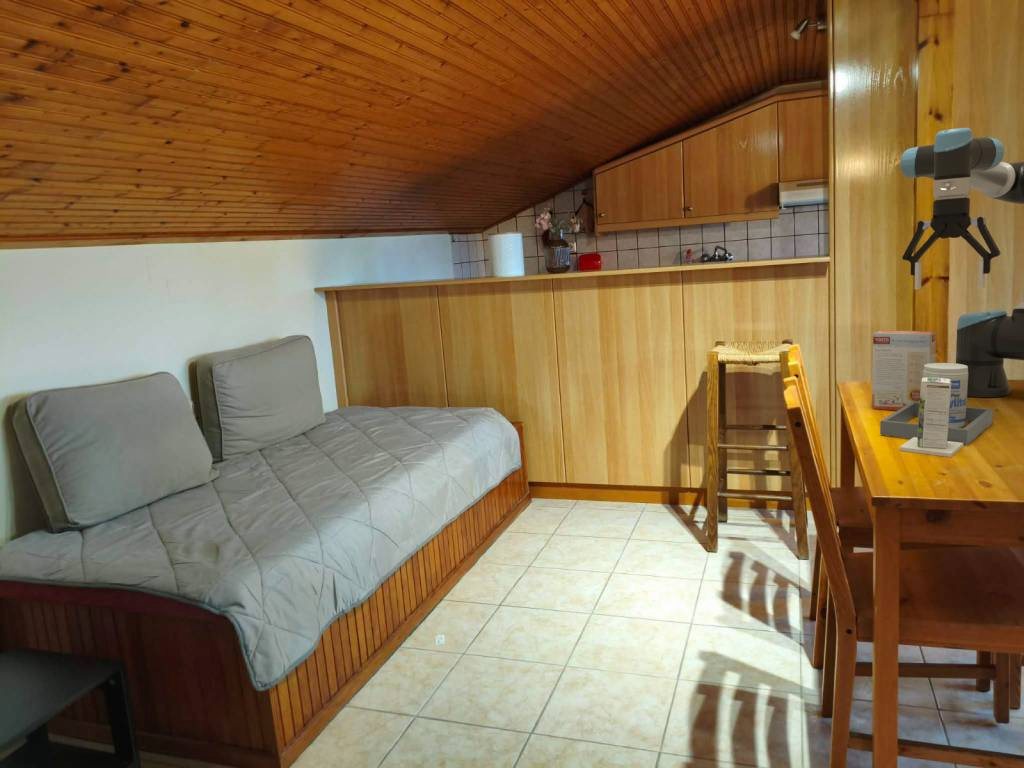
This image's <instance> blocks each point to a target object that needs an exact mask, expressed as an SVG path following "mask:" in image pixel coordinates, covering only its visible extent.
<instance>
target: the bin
mask: <svg viewBox="0 0 1024 768" xmlns="http://www.w3.org/2000/svg"><path fill="white" fill-rule="evenodd" d="M993 416H994V408H993V409H992V408H983V407H971V406H966V420H965V421H970V422H969V424H968V425H966V426H964V428H963V427H960V428H952V427H948V441H951V442H960V443H963V446H965V445H967V446H968V445H970V444H971V443H972V442H973V441H974V440H975V439H976V438H977V437H979V436H980V435H981V434H982V433H983V432H985V431H986V428H987V427H988V426H989V427H990V426H992V425H993V418H994V417H993ZM911 418H912V419H913V418H919V403H917V402H911V403H910V404H908V405H906V406H905V407H903V408H901V409H900V410H898V411H894V412H893V413H891V414H890V415H888V416H886V417H884V418H883V419H881V420H880V421H879V422H880V427H879V428H880V429H879V435H880V434H881V435H887V436H886V437H889V436H893V437H892V438H898V437H900V439H906V438H907V439H909V440H910V439H912V438H913V437H917V438H918V423H914V422H913V423H912V422H908V421H910V420H912V419H911ZM906 421H907V422H906ZM989 427H988V428H989ZM979 434H980V435H979ZM881 435H880V436H881ZM978 435H979V436H978ZM970 442H971V443H970Z"/></svg>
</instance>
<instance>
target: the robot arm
mask: <svg viewBox="0 0 1024 768" xmlns="http://www.w3.org/2000/svg"><path fill="white" fill-rule="evenodd" d="M1004 155H1005V148H1004V144H1003V143H1002V141H1000V140H999V139H997V138H993V137H989V136H984V137H973V131H972V129H971V128H969V127H959V128H958V127H956V128H950V129H945V130H940V131H938V132H937V133H936V134H935V139H934V144H930V145H929V144H928V145H918V146H915V147H911V148H908V149H906V150H905V151H904V152H903V153H902V155H901V158H900V163H899V167H900V170H901V171H900V172H901V173H902V175H903V176H904V177H906V178H908V179H911V178H912V179H913V178H915V179H918V178H927V179H932V180H933V189H932V190H933V194H932V196H933V198H934V199H935V200H934V201H933V202H932V220H931V221H926V220H919V221H918V222H917V226H916V231H915V233H914V235H913V236H912V238H911V240H910V242H909V244H908V245H907V247H906V249H905V251H904V254H903V255H902V257H901V258H902V260H903V261H908V262H909V263H910V273H909V274H910V275H911V276H914V290H920V289H922V267H923V266H922V261H919V260H920V259H921V258H922V256H924V254H926V252H927V251H928V250H929V249H930V248H932V247H931V246H933V245H934V243H935V242H936V241H937V240H939V238H940V239H943V240H944V239H948V238H951V239H956V238H960V237H961V238H962V239H963V240H965V242H967V244H969V245H970V246H971V247H972V249H973V250H974V251H975V252H976V253H977V254H978V255H979V256H980V257H981V258H982V259H980V260H979V262H978V263H979V264H978V285H977V286H978V287H977V288H978V290H980V289H981V290H982V289H984V288H985V286H986V285H985V284H986V282H985V281H986V275H988V274H990V273H991V269H992V267H991V263H992V259H994V258H996V257H999V256H1000V255H1001V251H1000V249H999V248H998V246H997V244H996V242H995V240H994V237H993V236H992V234H991V233H990V230H989V229H988V227H987V222H986V217H985V216H979V217H974V218H971V215H970V214H971V213H970V209H971V207H970V205H971V199H970V197H968V195H971V190H975V191H979V192H980V193H981V194H982V195H983V196H985V197H987V198H989V199H993V200H998V201H1002V202H1007V203H1010V204H1018V205H1024V161H1019V162H1018V161H1017V162H1009V163H1008V162H1005V161H1002V160H1003V159H1004ZM972 224H973V226H974V227H976V228H977V229H978V232H979V233H980V235H981V237H982V239H983V240H984V242H985V244H986V246H987V248H988V250H989V251H990V252H989V251H988V250H986V248H985V247H984V246H983V245H982V244H981V243H980V242H979V241H978V240H977V239H976V238H975V237H974V236H973V234H972V233H971V232H970V231H969V230H968V229H969V227H970V226H971V225H972ZM929 227H931V229H932V231H934V232H932V233H931V235H930V236H929V237H928V238H927V240H926V241H925V242H924V243H923V245H922V246H921V247H920V248H919V249H918V250H917V251H916V252H915V250H916V248H917V246H918V245H919V242H920V241H921V239H922V237H923V235H924V233H925V231H927V230H928V229H929ZM914 252H915V253H914ZM913 253H914V254H913ZM956 325H957V327H956V346H955V347H956V348H955V349H956V350H955V364H962V365H966V366H968V387H967V397H969V396H970V397H971V398H999V397H1005V396H1008V395H1009V394H1010V389H1011V387H1010V383H1009V380H1008V376H1007V373H1006V371H1005V368H1004V364H1005V363H1004V362H1005V359H1006V360H1015V361H1024V289H1023V291H1022V296H1021V300H1020V303H1019V304H1017V305H1015V307H1013V308H1012V313H1011V316H1010V315H1008V313H1007V311H1006V310H1003V309H1001V310H1000V309H999V310H988V311H980V312H979V311H978V312H971V313H965V314H961V315H960V316H959V317H958V319H957V324H956Z"/></svg>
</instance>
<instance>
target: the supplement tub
mask: <svg viewBox="0 0 1024 768" xmlns="http://www.w3.org/2000/svg"><path fill="white" fill-rule="evenodd" d="M926 377H937V378H946V379H950V380H951V394H950V411H949V425H948V427H952V428H963V427H965V425H966V422H965V420H966V407H967V400H968V396H967V387H968V366H966V365H962V364H956V362H955V363H953V362H951V363H950V362H935V363H930V364H925V365H924V370H923V378H926Z"/></svg>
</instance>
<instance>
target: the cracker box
mask: <svg viewBox="0 0 1024 768" xmlns="http://www.w3.org/2000/svg"><path fill="white" fill-rule="evenodd" d="M872 337H873V338H872V342H873V343H872V372H871V373H872V374H871V375H872V376H871V377H872V378H871V409H872V408H873V410H882V411H883V410H884V411H886V410H887V411H894V412H896V411H898V410H900V409H901V408H903V407H905V406H906V405H908V404H910V403H911V402H917V403H919V402H920V391H921V381H922V378H923V370H924V365H925V364H930V363H936V353H937V352H936V351H937V350H936V347H937V345H936V344H937V343H936V342H937V332H936V331H923V330H921V331H919V330H878V331H876V332H873V335H872Z"/></svg>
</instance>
